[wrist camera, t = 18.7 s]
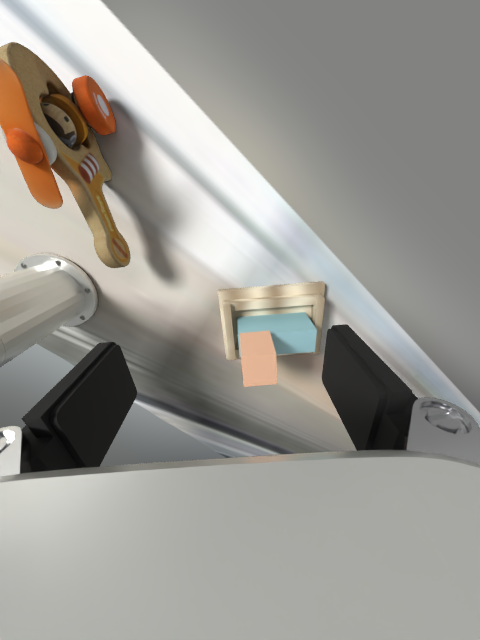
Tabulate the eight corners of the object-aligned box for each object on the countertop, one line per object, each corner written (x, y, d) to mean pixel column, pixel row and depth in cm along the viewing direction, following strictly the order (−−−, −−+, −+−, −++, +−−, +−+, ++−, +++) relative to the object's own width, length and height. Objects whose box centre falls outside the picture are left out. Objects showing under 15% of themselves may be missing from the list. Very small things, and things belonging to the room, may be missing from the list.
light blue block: (239, 336, 41) (239, 357, 35) (237, 317, 39) (237, 335, 33) (303, 331, 41) (314, 351, 35) (304, 311, 39) (316, 329, 33)
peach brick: (242, 359, 35) (244, 386, 30) (239, 333, 33) (240, 356, 28) (270, 357, 35) (276, 383, 30) (269, 330, 33) (276, 353, 28)
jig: (226, 355, 44) (226, 367, 41) (218, 289, 38) (216, 297, 35) (316, 349, 44) (322, 360, 41) (322, 281, 38) (331, 288, 34)
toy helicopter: (100, 76, 26) (-20, -44, 14) (163, 253, 35) (124, 276, 23) (37, 94, 27) (-132, -5, 14) (115, 263, 36) (52, 291, 24)
